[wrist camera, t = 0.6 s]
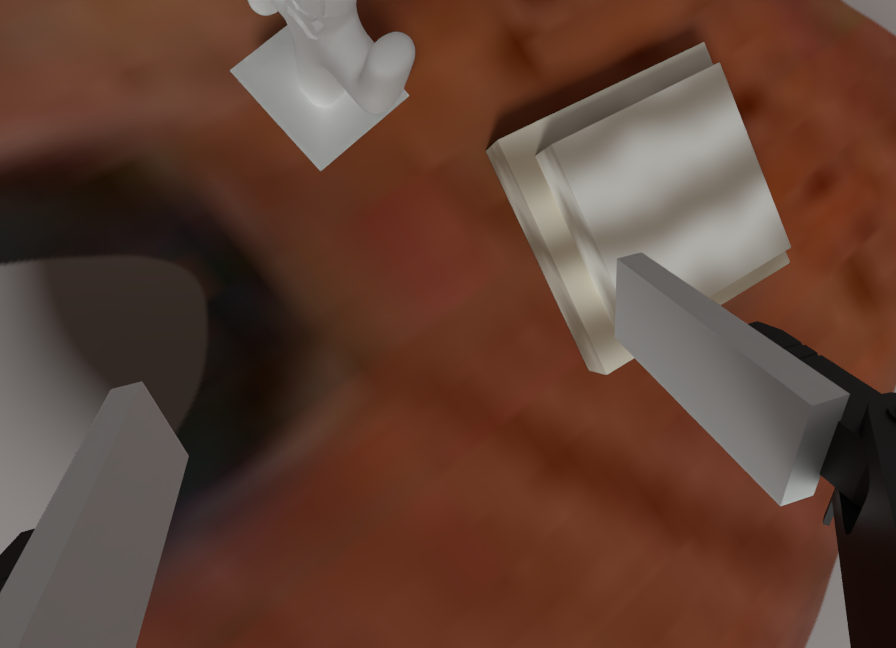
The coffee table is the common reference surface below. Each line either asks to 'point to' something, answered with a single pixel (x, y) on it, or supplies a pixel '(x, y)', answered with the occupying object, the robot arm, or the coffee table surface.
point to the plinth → (552, 224)
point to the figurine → (325, 75)
